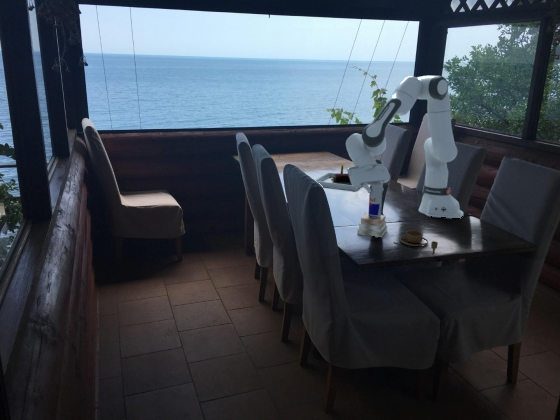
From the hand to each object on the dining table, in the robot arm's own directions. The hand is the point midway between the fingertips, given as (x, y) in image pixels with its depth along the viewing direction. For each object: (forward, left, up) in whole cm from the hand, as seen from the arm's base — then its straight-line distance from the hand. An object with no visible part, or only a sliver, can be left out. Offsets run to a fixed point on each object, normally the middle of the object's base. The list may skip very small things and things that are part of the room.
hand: (376, 191), depth 219 cm
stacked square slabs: (0, 0, -20) cm, 20 cm away
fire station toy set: (+40, -80, -20) cm, 92 cm away
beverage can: (0, 0, -12) cm, 12 cm away
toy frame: (+42, -82, -20) cm, 95 cm away
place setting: (-20, +8, -20) cm, 30 cm away
